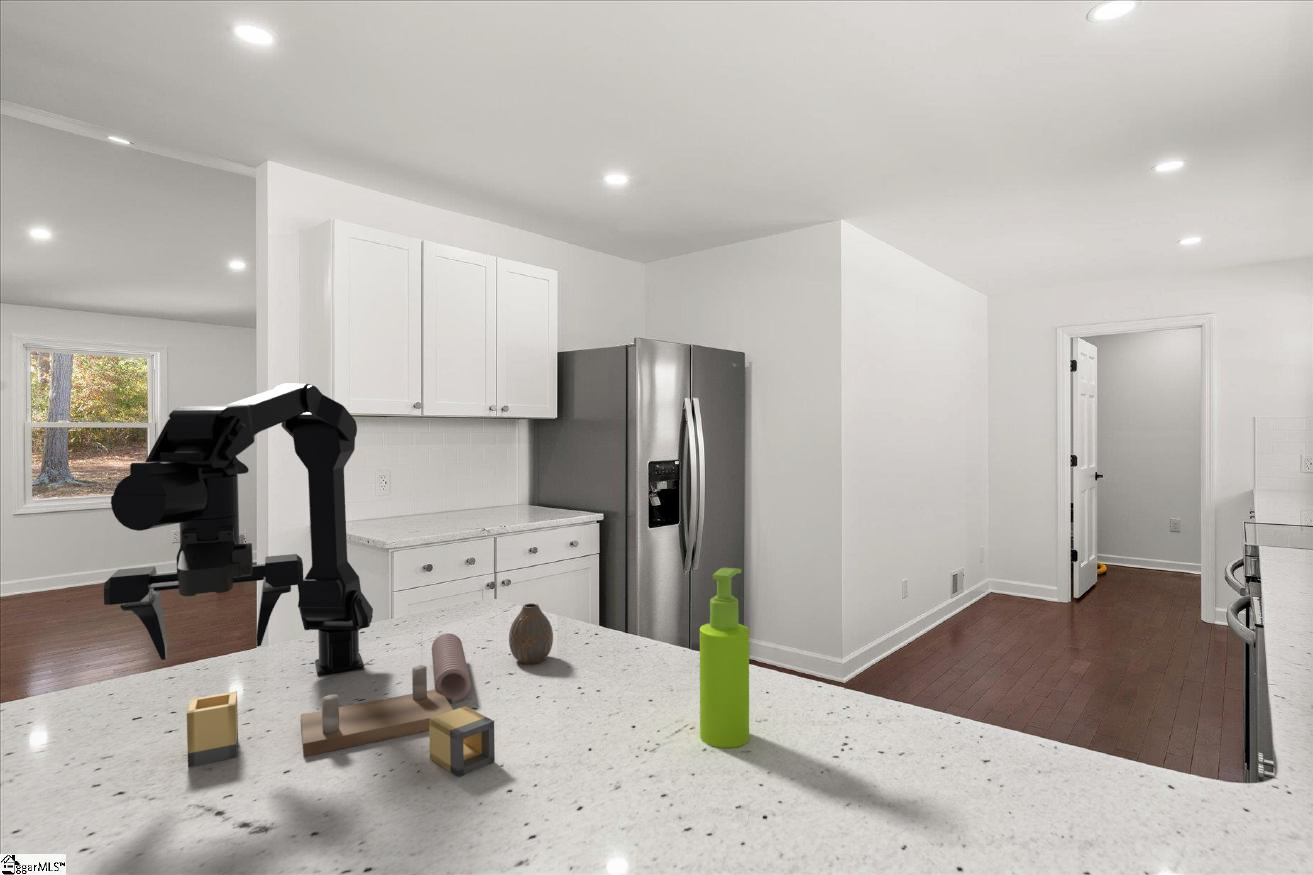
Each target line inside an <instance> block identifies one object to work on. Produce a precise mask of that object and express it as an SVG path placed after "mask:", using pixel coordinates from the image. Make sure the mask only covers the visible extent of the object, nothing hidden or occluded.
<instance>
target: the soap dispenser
mask: <svg viewBox="0 0 1313 875" xmlns="http://www.w3.org/2000/svg"><path fill="white" fill-rule="evenodd" d="M741 573H742V568H734V567H721V568H719V569H718V570H717V571H715V572H714V573H713V574H712V580H714V581H715V580H716V581H717V582H716V595H714V596H713V597H711V598H710V600H709V622H707V623H705V624H703V625H701V626H700V627H699V736H700V739H701V741H702V742H704V743H705V744H707V745H708V746H711V747H715V748H721V749H732V748H733V749H734V748H738V747H742V746H743V745H745V744H747V743H748V742H749V741H750V629H749V628H748V627H747V626H746V625H744V624H741V623H739V600H738V598H737V597H735V596H734V595H732V578H733V577H735V576H736V575H737V574H741Z"/></svg>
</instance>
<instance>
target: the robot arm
mask: <svg viewBox="0 0 1313 875" xmlns="http://www.w3.org/2000/svg"><path fill="white" fill-rule="evenodd" d="M168 414H169V415H168V417H169V418H168V420H167V421H166V423H165V424H164V426H163V427H162V430H161V432H160V434H159V435H158V437H157V439H156V442H154V445H153V447H152V448H151V450H150V452H149V454H148V456H147V458H146V459H145V461H144V462H143V461H141V462H138V461H137V462H131V463H130V464H129V467H130V468H129V474H130V475H127V476H126V477H124V478H122V479H121V481H119V483H117V484H116V485H117V486H116V487H115V488H114V492H113V495H112V496H111V497H110V504H111V510H112V513H113V515H114V517H115V518H116V520H117V521H118V522H119V524H121V525H122V526H123V527H125V528H127V529H129V530H132V531H138V532H139V531H147V530H150V529H155V528H156V529H157V528H160V527H167V526H170V525H175V524H179V548H178V552H177V554H176V571H175V572H163V573H157V570H156V569H157V568H156V566H154V565H153V566H144V567H133V568H120V569H117V570H116V572H114V573H113V574H112V575H111V576H110V577H109V578H107V580H106V581H105V582H104V585H103V604H104V605H107V606H113V605H120V606H119V608H120V610H121V611H123V612H127V611H130V612H132V613H133V614H135V615H136V616H137V617H138V618H139V620H140V622H141V623H142V624H143V625H144V627H145V629H146V630H147V632H148V634H149V637H150V639H151V641H152V643H153V645H154V648H155V649H156V651H157V653H158V657H159V658H160V660H161V661H165V660H166V659H167V656H168V654H167V653H168V642H167V634H166V627H165V620H164V610H163V604H162V595H161V591H168V590H169V591H170V590H177V589H178V594H179V595H181V596H182V597H194V596H196V595H199V594H208V593H209V594H210V593H215V594H223V593H227V592H229V591H231V590H232V589H233V588H234V584H237V583H247V582H249V583H250V582H255V581H262V587H261V588H262V589H261V596H260V604H259V610H258V612H259V613H258V619H257V620H258V621H257V626H256V647H258V648H259V647H261V646H262V644H263V640H264V636H265V634H266V630H267V628H268V625H269V621H270V619H271V616H272V613H273V611H274V609H275V606H277V602H278V600H279V599H280V597H281V596H282V595H283V594H287V593H291V592H292V586H297V590H298V591H297V592H298V604H297V607H298V609H299V614H300V617H301V622H302V625H303V630H304V631H313V630H314V631H317V634H318V638H317V640H318V659H315V661H314V664H315V671H316V674H317V675H318V676H322V675H327V674H328V675H329V674H333V673H334V674H335V673H339V672H346V671H351V670H352V671H353V670H358V669H363V668H364V667H365V665H364V664H365V663H364V661H363V658H362V655H361V653H360V635H359V631H360V630H362V629H366V628H369V627H370V626H371V623H372V619H373V618H374V617H373V613H374V609H373V606H371V603H369V601H368V600H367V598H366V597H365V595H364V594H363V592H362V589H361V588H362V587H361V581H360V576H359V575H358V573H357V572H356V571H355V569H354V567H352V566H351V564H350V562H349V561H348V542H347V540H348V539H347V517H346V516H347V515H346V490H345V488H346V487H345V467H346V465H347V463H348V462H349V460H350V458H351V457H352V456H353V453H354V451H355V448H356V436H357V432H358V426H357V425H358V424H357V421H356V419H355V418H354V417H353V415H351V413H350V412H349V411H348V410H347V408H346V406H344V405H343V404H341V403H340V402H338V401H335V400H334V399H332V398H330V397H328V396H326V395H325V394H323V393H322V391H320V389H319V388H318V387H317V386H315V385H313V384H310V383H282V384H280V385H277V386H276V387H274V388H271V389H269V390H266V391H263V392H260V393H257V394H254V395H251V396H249V397H246V398H242V399H240V400H237V401H233V402H230V403H228V404H214V405H213V404H212V405H210V404H209V405H208V404H207V405H192V406H191V405H190V406H180V407H179V406H178V407H177V408H175V409H173V410H172V411H171V412H170V413H168ZM279 424H281V425H280V426H281V428H282V429H283V430H284V431H285V432H286V433H288V435H289V436H290V437H291V438H292V439H293V446H294V452H295V454H296V455H297V457H298V459H299V460H300V462H301V464H303V465H304V467H305V468H306V470H307V480H308V482H307V483H308V498H309V499H308V504H309V525H310V526H309V528H310V530H309V531H310V552H311V555H310V556H311V567H310V569H309V570H308V572H307V573H306V575H305V577H304V564H303V563H304V562H303V558H302V557H301V556H299V554H297V553H291V554H279V555H270V556H268V555H267V556H265V559H264V562H265V563H262V564H261V563H260V564H254V563H253V562H254V561H253V560H254V559H253V558H254V557H253V543H252V542H248V543H240V518H239V476H238V475H243V474H248V473H249V470H250V469H249V467H248V465H246V464H245V463H243V462H242V461H240V459H238V458H237V456H239V455H240V454H242V453H243V452H244V451H245V450H246V449H248V448H249V447H250V446H252V445H253V444H254V443H255V441H256V439H255V437H256V435H257V434H259V433H261V432H263V431H265V430H267V429H270V428H272V427H275V426H278V425H279Z"/></svg>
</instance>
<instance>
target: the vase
mask: <svg viewBox="0 0 1313 875" xmlns="http://www.w3.org/2000/svg"><path fill="white" fill-rule="evenodd" d="M551 624H552V623H551V622H550V620H549V619H548V617H547V616H546V614H544V612H543V611H542V609H541V608H540V606H539V604H538V603H532V602H531V603H526V604H523V606H522V608H521V610H520V611H519V613H518V615H517V616H516V617H515V619H514V620H513V622H512V623H511V627H510V628H509V634H508V644H509V649H510V652H511V655H512V656H513V657H514V659H515V660H516V661H518V662H519V663H520V664H523V665H533V664H539V663H542V662H543V661H545V660H546V658H547V657H548V656H549V654H550V653H551V652H552V651H551V650H552V648H553V643H554V633H553V632H554V631H553V626H552V625H551Z"/></svg>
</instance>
